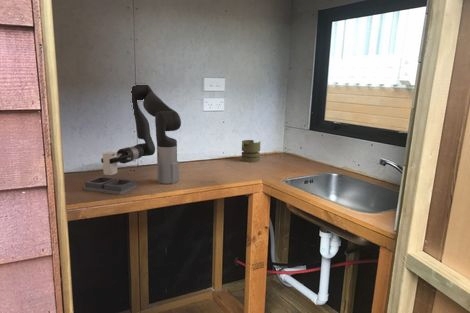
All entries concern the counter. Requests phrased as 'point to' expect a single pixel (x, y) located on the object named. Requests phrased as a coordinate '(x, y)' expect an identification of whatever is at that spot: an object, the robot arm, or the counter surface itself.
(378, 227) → the counter surface
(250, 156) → the piston
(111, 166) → the block
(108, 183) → the grey flat tray
